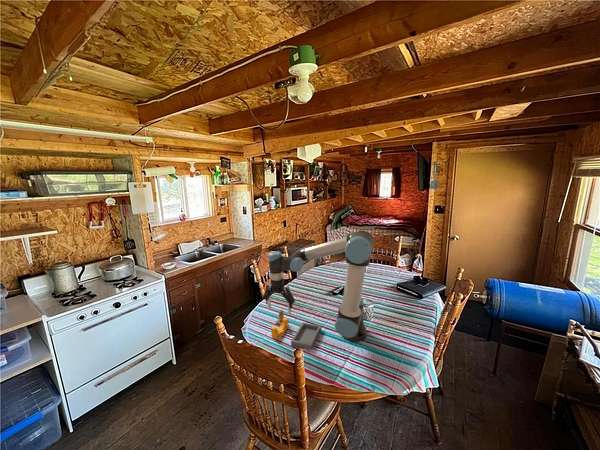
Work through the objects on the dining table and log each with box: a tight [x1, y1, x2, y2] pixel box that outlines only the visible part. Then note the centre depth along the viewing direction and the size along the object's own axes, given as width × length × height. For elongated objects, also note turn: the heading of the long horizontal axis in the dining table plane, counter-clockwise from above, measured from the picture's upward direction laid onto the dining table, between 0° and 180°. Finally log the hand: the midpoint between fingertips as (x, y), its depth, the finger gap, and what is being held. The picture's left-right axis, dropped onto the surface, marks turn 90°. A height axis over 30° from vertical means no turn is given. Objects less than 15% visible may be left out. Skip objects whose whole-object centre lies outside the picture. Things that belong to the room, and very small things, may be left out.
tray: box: [290, 321, 322, 351], centre depth 144 cm, size 12×18×3 cm, turn 157°
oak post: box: [275, 309, 285, 326], centre depth 159 cm, size 6×6×8 cm
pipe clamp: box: [270, 317, 289, 340], centre depth 149 cm, size 12×4×6 cm, turn 141°
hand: (279, 311), depth 146 cm, fingers open, 13 cm apart
